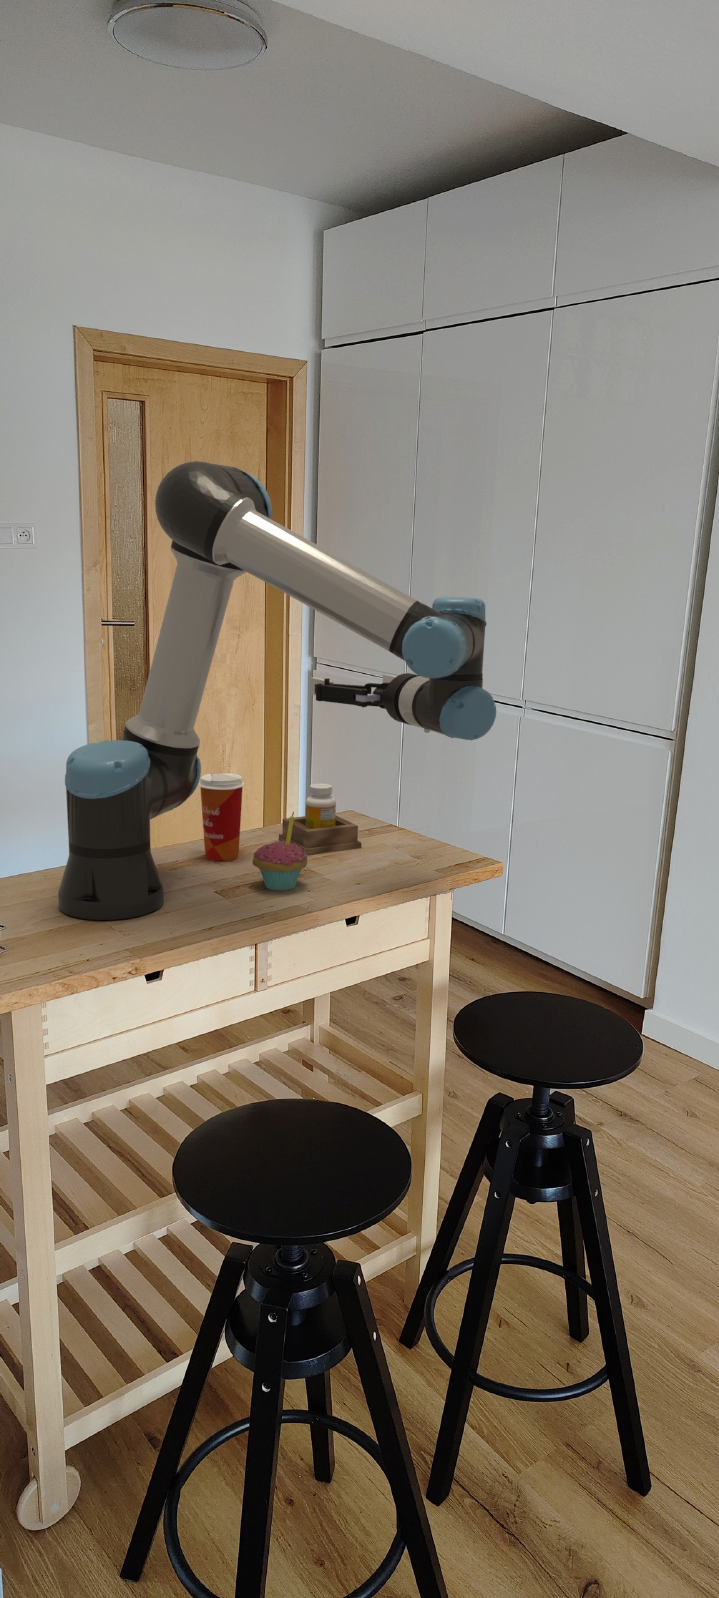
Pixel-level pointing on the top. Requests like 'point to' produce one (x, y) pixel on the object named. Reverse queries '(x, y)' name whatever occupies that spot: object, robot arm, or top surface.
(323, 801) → the supplement bottle
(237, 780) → the paper cup
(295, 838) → the socket block
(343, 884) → the top surface
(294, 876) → the cupcake
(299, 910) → the top surface
